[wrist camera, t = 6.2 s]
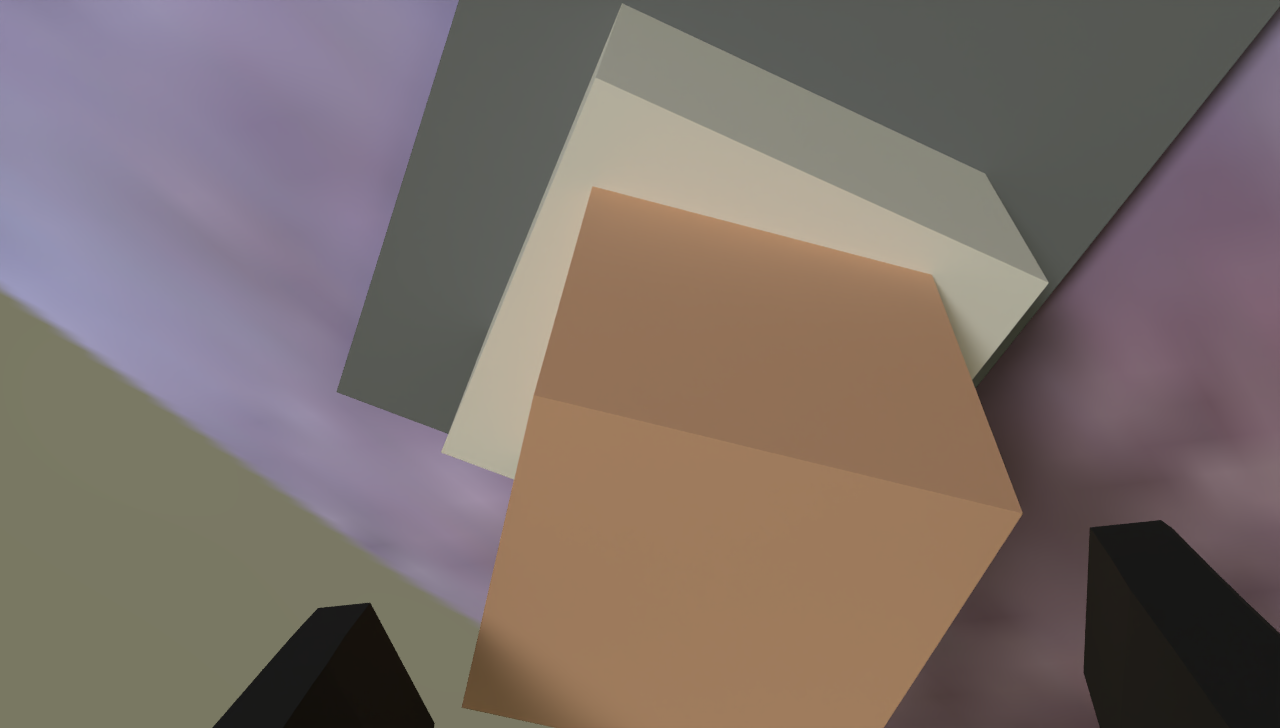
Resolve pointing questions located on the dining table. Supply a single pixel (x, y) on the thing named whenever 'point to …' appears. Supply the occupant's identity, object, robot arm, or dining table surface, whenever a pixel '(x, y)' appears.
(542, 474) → the cube
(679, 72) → the base block
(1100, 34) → the mat
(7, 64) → the dining table surface
